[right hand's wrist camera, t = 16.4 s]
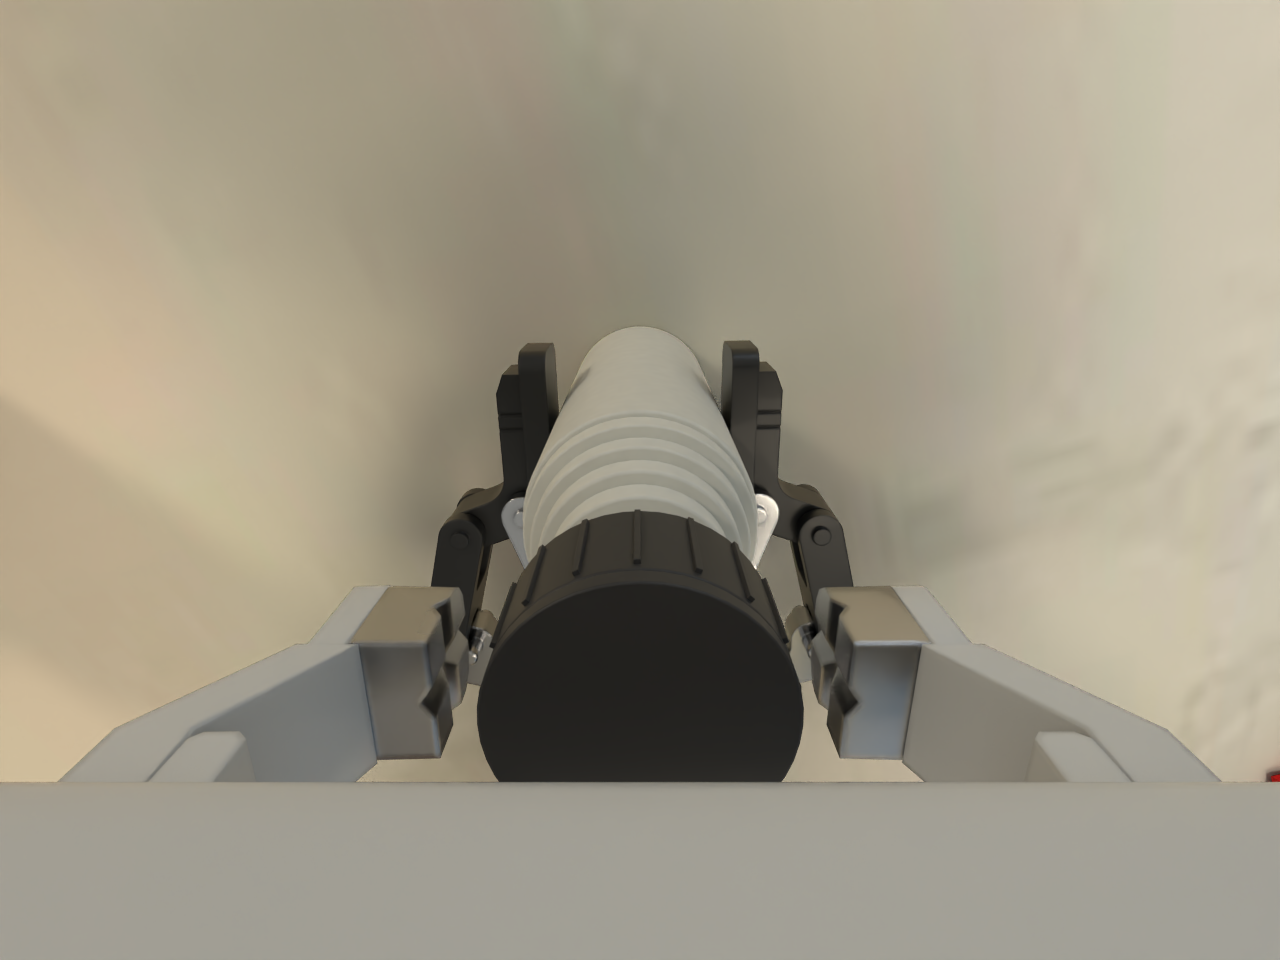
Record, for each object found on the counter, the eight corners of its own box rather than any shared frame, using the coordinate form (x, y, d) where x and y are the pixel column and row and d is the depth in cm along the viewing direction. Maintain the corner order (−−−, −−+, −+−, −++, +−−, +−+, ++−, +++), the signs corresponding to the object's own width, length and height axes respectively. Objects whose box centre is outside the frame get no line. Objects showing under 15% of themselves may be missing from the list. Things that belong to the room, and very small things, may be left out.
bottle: (668, 302, 24) (731, 459, 8) (725, 417, 26) (884, 763, 9) (552, 364, 25) (375, 631, 8) (614, 473, 26) (569, 885, 10)
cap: (456, 564, 10) (410, 648, 8) (722, 462, 9) (744, 525, 7) (571, 770, 11) (556, 886, 9) (810, 692, 10) (849, 797, 9)
